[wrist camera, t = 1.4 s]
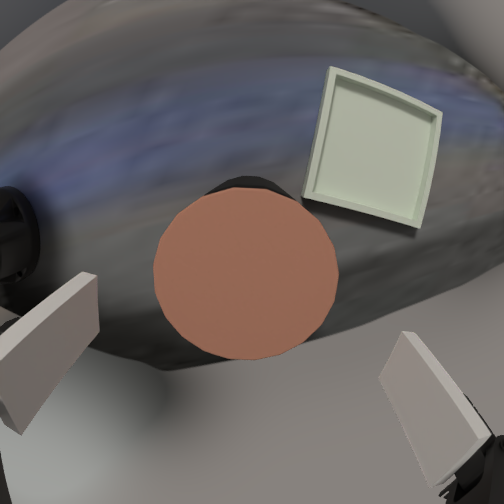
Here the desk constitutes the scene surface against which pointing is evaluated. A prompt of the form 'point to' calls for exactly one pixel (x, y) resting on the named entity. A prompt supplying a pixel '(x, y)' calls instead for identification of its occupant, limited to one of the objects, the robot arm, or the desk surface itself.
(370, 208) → the sage tray
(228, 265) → the coffee jar
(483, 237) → the desk surface
